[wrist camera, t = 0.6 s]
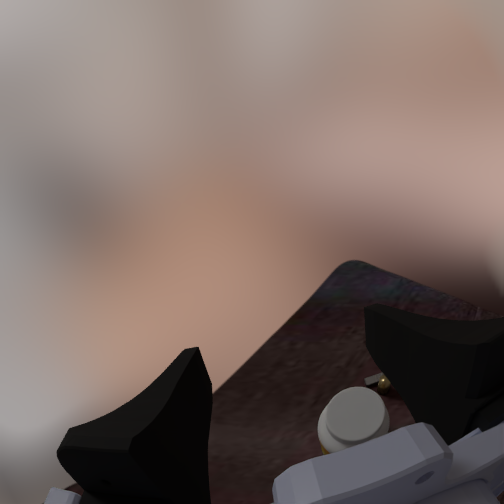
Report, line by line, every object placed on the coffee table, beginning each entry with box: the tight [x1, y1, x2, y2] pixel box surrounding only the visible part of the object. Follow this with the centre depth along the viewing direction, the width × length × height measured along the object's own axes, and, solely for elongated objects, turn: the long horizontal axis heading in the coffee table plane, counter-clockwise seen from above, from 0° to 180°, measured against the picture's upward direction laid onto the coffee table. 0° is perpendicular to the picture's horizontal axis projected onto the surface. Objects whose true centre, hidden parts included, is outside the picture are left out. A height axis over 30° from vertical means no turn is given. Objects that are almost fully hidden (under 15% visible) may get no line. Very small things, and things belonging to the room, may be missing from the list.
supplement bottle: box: [318, 387, 390, 455], centre depth 19 cm, size 5×5×10 cm
